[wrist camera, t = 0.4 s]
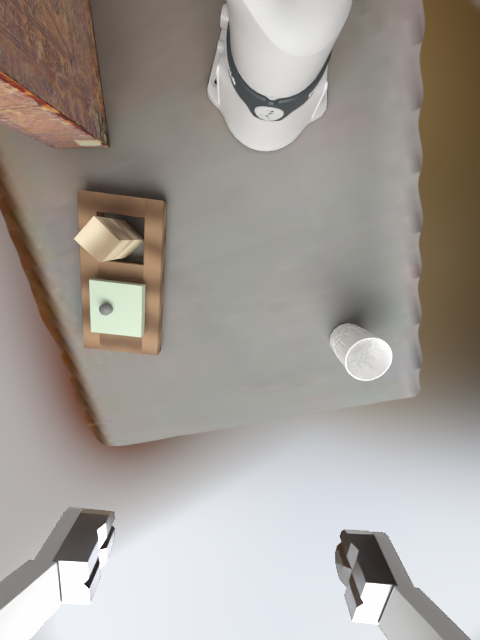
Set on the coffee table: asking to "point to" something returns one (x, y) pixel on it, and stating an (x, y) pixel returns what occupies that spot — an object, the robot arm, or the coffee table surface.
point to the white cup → (361, 351)
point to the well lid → (117, 307)
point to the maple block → (108, 238)
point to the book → (51, 73)
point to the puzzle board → (126, 269)
